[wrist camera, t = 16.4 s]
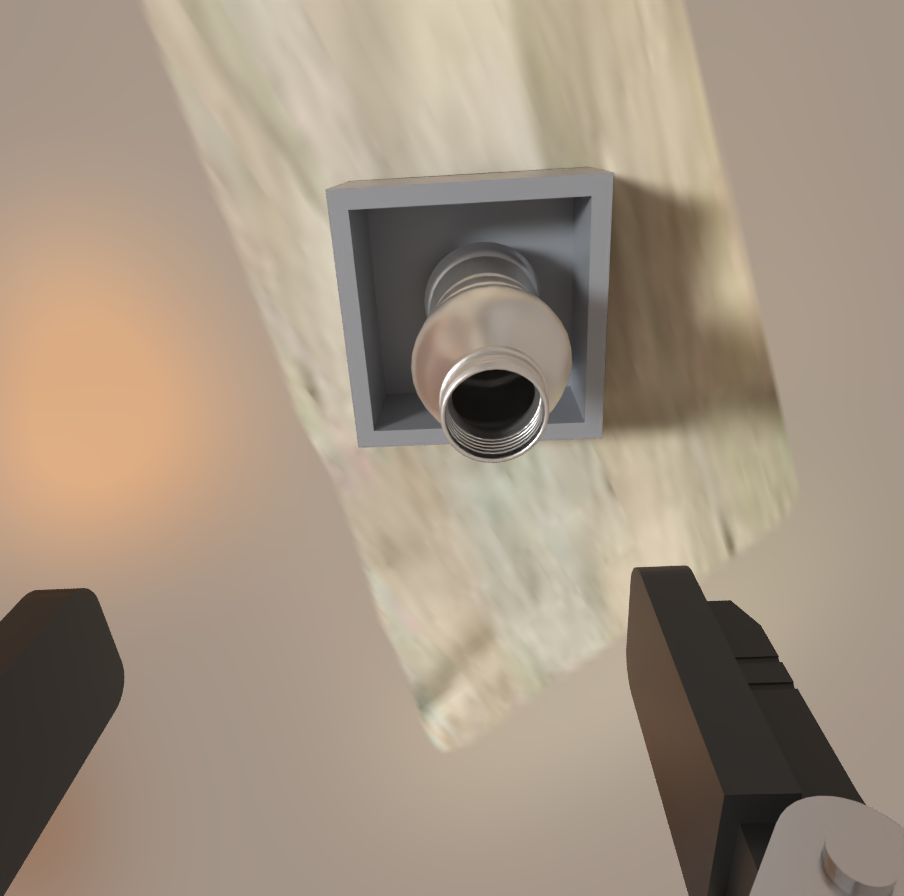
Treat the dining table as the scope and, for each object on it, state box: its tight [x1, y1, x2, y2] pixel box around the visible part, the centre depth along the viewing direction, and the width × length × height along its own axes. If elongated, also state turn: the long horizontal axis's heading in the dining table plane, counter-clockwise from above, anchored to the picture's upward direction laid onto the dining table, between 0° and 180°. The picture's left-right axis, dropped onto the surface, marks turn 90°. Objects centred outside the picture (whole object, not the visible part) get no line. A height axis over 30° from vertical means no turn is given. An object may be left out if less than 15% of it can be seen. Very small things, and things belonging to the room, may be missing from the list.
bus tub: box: [326, 167, 614, 448], centre depth 38 cm, size 14×14×7 cm
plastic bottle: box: [411, 242, 572, 463], centre depth 31 cm, size 6×7×20 cm
